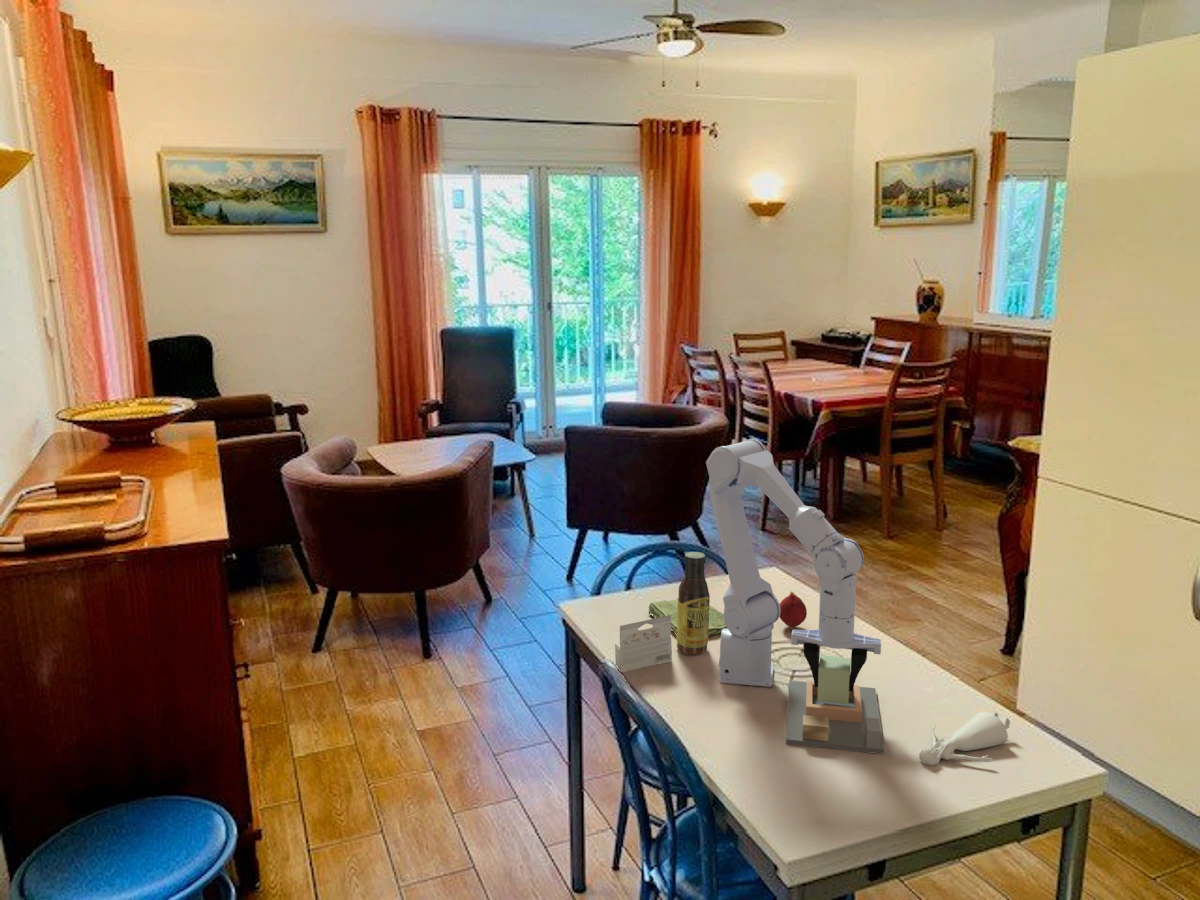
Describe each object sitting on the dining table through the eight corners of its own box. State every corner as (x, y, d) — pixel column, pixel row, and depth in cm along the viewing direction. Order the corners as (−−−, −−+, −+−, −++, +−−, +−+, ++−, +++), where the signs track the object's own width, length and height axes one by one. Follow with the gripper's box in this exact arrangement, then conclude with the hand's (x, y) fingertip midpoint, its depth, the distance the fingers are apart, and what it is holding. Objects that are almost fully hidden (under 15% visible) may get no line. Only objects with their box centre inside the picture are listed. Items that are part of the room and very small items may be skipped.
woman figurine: (1035, 725, 136) (952, 765, 128) (1034, 751, 137) (952, 791, 129) (972, 693, 146) (893, 728, 138) (972, 717, 147) (893, 753, 139)
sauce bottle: (687, 659, 170) (687, 562, 165) (670, 647, 175) (670, 553, 171) (715, 651, 172) (716, 556, 168) (697, 640, 178) (698, 547, 174)
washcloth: (683, 646, 176) (683, 631, 176) (644, 614, 192) (644, 600, 192) (738, 633, 181) (738, 619, 181) (696, 603, 197) (696, 590, 197)
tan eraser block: (802, 738, 140) (802, 724, 139) (802, 728, 143) (803, 715, 142) (828, 741, 139) (828, 727, 138) (827, 731, 142) (828, 717, 141)
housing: (786, 743, 140) (786, 722, 139) (789, 684, 159) (789, 665, 158) (884, 754, 137) (885, 732, 136) (875, 692, 156) (876, 672, 155)
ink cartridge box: (614, 668, 167) (613, 620, 165) (666, 656, 171) (666, 610, 169) (620, 673, 165) (619, 625, 162) (672, 662, 169) (672, 615, 167)
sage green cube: (817, 700, 148) (818, 667, 146) (819, 686, 152) (820, 654, 151) (848, 704, 146) (849, 671, 145) (849, 690, 151) (850, 658, 149)
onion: (810, 625, 184) (811, 590, 182) (800, 635, 179) (801, 599, 177) (783, 620, 187) (784, 584, 185) (773, 629, 182) (774, 593, 180)
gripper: (882, 607, 147) (878, 681, 150) (794, 598, 152) (792, 670, 155) (882, 624, 141) (878, 700, 144) (790, 614, 145) (788, 689, 148)
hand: (833, 686), depth 149 cm, fingers closed on sage green cube, 5 cm apart
